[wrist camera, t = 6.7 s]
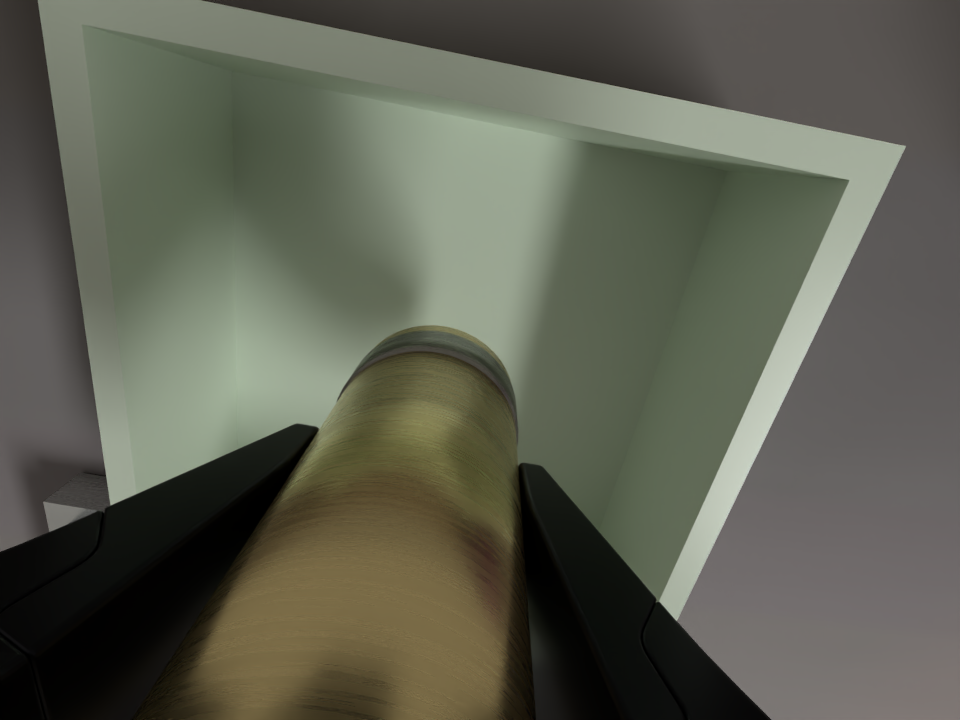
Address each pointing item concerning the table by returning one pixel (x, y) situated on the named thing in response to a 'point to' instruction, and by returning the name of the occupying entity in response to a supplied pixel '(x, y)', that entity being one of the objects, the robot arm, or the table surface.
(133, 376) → the bin
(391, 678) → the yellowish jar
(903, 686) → the table surface
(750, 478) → the table surface
